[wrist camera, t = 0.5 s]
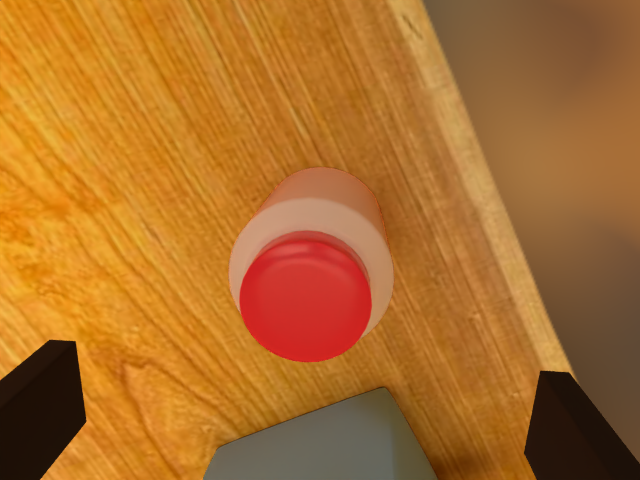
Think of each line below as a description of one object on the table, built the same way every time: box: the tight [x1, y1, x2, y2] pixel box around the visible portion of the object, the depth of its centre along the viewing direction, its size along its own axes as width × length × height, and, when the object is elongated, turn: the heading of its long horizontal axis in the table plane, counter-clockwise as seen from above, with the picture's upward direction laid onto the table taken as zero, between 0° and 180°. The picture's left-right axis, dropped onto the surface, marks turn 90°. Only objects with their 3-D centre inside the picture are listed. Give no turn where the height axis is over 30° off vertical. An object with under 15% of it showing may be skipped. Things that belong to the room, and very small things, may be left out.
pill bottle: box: [228, 167, 394, 362], centre depth 25 cm, size 8×8×11 cm
